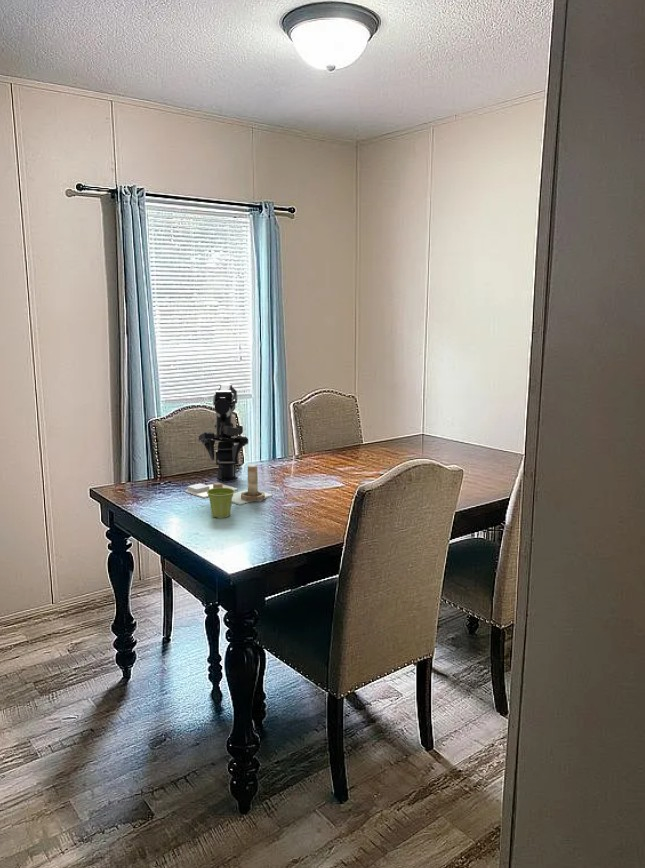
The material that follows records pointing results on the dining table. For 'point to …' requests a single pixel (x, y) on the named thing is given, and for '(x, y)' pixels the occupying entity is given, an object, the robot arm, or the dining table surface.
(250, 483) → the dowel
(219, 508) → the plant pot
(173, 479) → the dining table surface
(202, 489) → the tile
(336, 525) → the dining table surface
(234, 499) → the board
